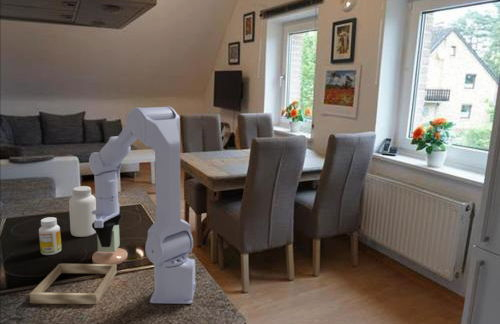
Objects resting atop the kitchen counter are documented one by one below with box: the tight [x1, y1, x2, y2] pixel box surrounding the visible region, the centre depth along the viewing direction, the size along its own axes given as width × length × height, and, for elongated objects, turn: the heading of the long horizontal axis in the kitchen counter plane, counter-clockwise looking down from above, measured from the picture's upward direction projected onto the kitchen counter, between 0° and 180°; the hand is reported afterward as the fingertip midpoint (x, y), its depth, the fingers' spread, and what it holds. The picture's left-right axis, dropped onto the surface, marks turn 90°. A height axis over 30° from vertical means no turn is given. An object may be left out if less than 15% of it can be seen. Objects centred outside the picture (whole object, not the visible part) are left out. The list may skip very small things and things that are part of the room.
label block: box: [96, 224, 121, 252], centre depth 107 cm, size 4×4×6 cm
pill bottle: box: [68, 185, 97, 238], centre depth 124 cm, size 8×8×15 cm
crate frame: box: [29, 263, 118, 305], centre depth 93 cm, size 15×15×2 cm
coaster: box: [91, 247, 128, 265], centre depth 108 cm, size 9×9×1 cm
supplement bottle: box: [38, 216, 62, 256], centre depth 111 cm, size 5×5×10 cm
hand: (109, 242), depth 107 cm, fingers closed on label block, 4 cm apart
